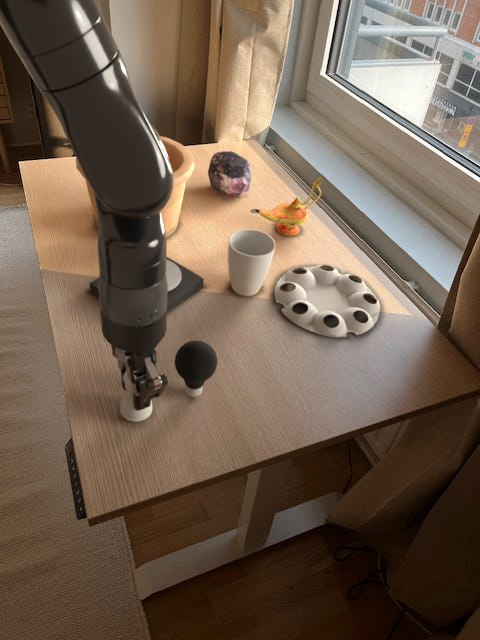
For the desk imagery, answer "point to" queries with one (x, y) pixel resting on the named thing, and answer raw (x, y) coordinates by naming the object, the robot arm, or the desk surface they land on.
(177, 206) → the pottery
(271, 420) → the desk surface
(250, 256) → the cup
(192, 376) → the light bulb
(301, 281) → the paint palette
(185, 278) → the scale
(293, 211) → the magic lamp
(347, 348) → the desk surface
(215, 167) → the mineral specimen
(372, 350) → the desk surface
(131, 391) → the rook chess piece
